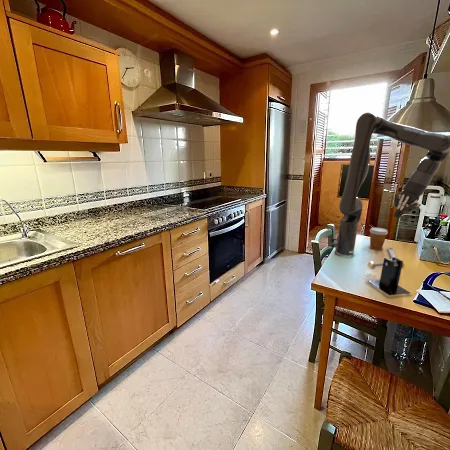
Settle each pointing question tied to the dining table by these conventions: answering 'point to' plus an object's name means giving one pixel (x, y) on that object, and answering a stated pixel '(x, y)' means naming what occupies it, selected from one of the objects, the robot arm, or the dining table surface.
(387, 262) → the bracket
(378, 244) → the disposable coffee cup
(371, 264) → the lever
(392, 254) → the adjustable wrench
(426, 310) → the dining table surface
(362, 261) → the dining table surface
